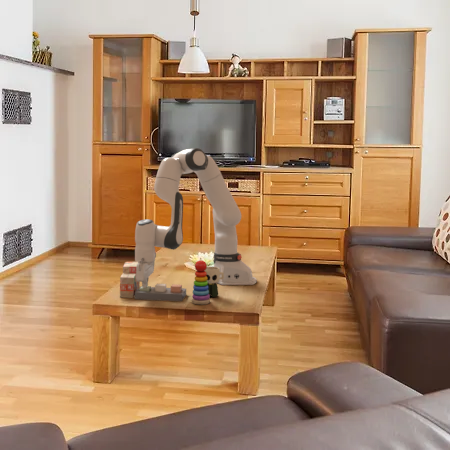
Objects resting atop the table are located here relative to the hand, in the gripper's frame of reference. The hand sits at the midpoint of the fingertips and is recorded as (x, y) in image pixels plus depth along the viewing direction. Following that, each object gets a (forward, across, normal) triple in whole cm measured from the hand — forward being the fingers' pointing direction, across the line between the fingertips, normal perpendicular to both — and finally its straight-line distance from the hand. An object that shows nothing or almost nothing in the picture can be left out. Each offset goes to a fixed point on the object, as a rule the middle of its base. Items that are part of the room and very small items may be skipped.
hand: (145, 287), depth 301 cm
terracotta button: (+2, 0, -14) cm, 14 cm away
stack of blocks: (+5, +7, +9) cm, 12 cm away
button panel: (+4, 0, -7) cm, 8 cm away
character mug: (+4, +5, -29) cm, 30 cm away
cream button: (+2, 0, -7) cm, 7 cm away
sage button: (+3, 0, 0) cm, 3 cm away
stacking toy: (+4, -7, -26) cm, 27 cm away
